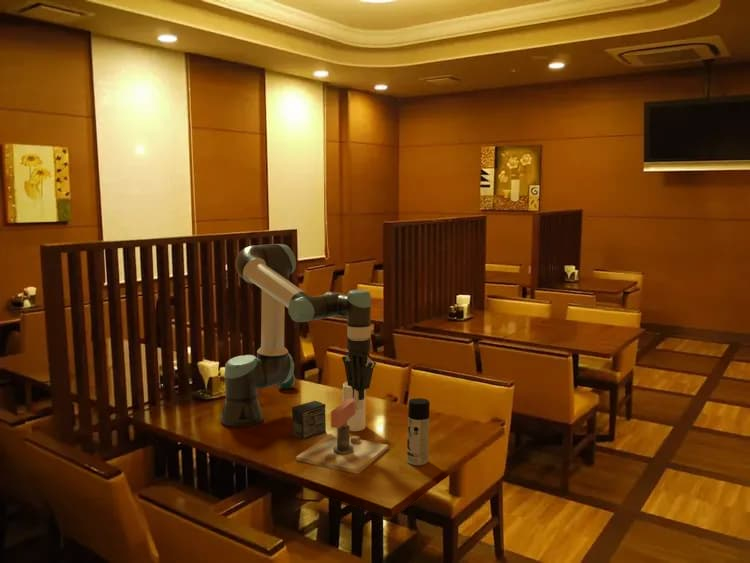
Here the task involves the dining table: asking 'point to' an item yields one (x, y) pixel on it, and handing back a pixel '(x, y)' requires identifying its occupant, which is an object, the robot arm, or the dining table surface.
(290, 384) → the sphere
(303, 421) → the small box
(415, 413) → the spray can
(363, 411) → the cup
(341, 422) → the pink rectangular block
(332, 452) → the post board
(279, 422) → the dining table surface
